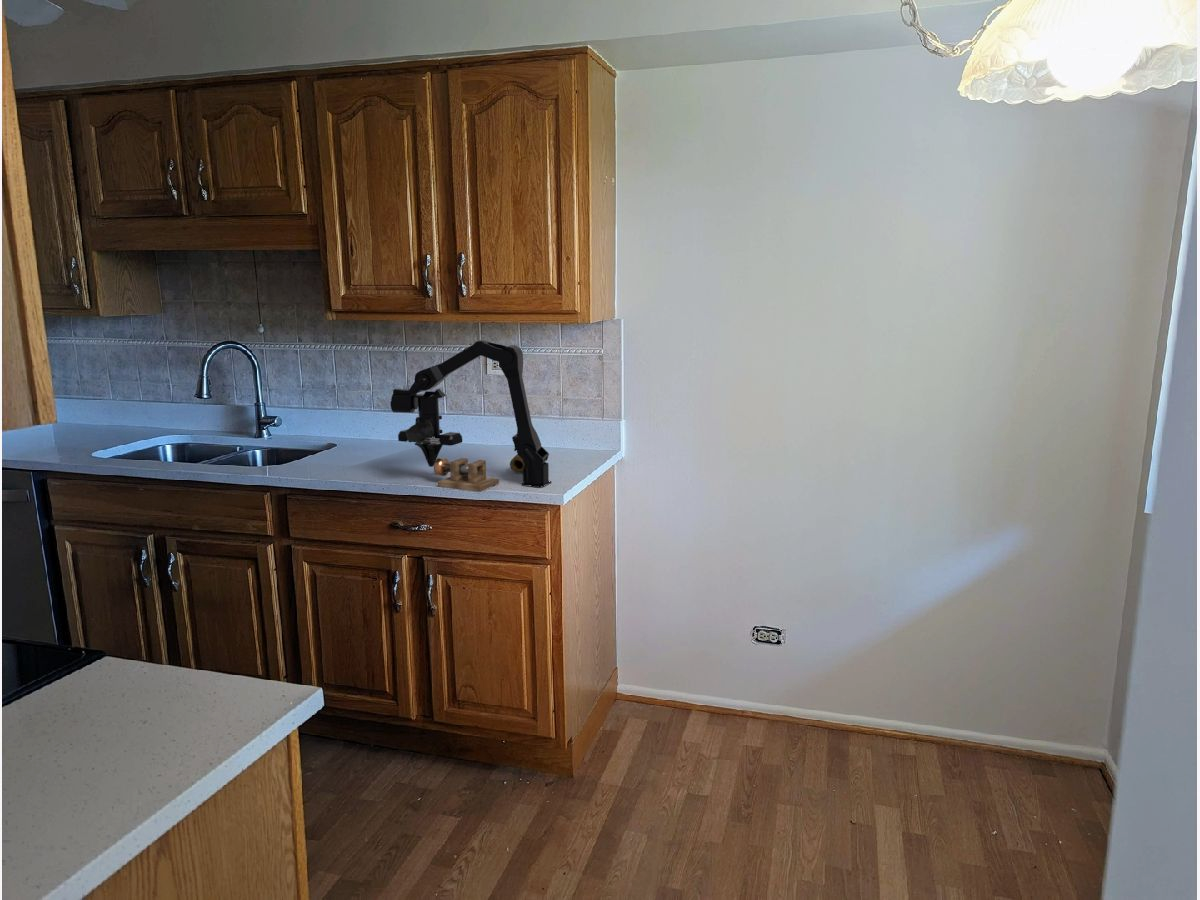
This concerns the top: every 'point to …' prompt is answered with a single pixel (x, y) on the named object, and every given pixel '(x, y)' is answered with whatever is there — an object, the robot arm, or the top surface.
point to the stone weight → (517, 464)
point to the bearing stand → (468, 476)
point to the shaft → (447, 467)
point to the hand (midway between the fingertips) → (431, 466)
